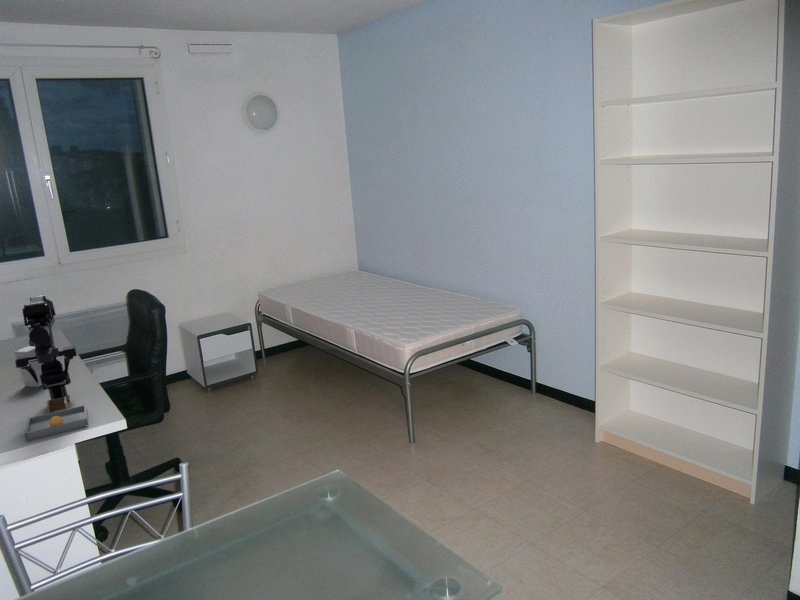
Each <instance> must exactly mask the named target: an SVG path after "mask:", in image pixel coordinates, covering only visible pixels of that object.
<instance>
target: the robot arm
mask: <svg viewBox="0 0 800 600" xmlns="http://www.w3.org/2000/svg"><path fill="white" fill-rule="evenodd" d="M29 300H30V301H29V303H24V305H23V307H22V317H23V322H24V326H30V329H31V330H30V331H29V335H28V338H29V339H30V340H31V341H32V342H33V343H34V346H35V354H36V356H32V357H29V354H28V355H23V356H18V357H17V358H16V357H15V361H14V362H15V367H16V368H17V369H20V367H21V369H26V370H27V371H28V372H29V373H30V374H31V375H32V377H33V378H34V380H35V381H36V382H37V383H38V379H37V375H36V373H35V370H34V367H33V364H32V362H34V361H38V363H39V364H41V363H43V364H42V365H41V372H42V374H40V379H41V383H42V386H41V387H42V389H43V391H45V390H48V393H49V397H50V399H49V400H52V399H57V398H61V397H66V398H67V402H68V403H69V402H70V399H71V397H70V395H69V394H68V391H67V386H69V385H70V384H71V383H72V381H71V377H70V374H69V372H68V370H69V364H70V362H71V360H73V359H74V357H77V356H78V351H77V347H76V346H75V345H71V346H65V347H63V348H62V350H59V348H58V345H55V339H54V335H53V329H52V327H53V326H54V324H55V322H56V321H55V320H56V319H55V316H56V315H57V313H56V309H55V306H54V303H53V301H52V300H50V299H48V298H47V297H46V295H45V294H39V295H34V296H33V295H32V296H31V297H29ZM59 357H63V363H64V365H63V364H62V363H61V360H58V358H59Z"/></svg>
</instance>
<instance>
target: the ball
mask: <svg viewBox="0 0 800 600" xmlns="http://www.w3.org/2000/svg"><path fill="white" fill-rule="evenodd" d="M60 424H63V419H62V418H61V417H59V416H54V417H52V418H51V419H50V421H49V425H50V426H51V427H52V426H56V425H60Z"/></svg>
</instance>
